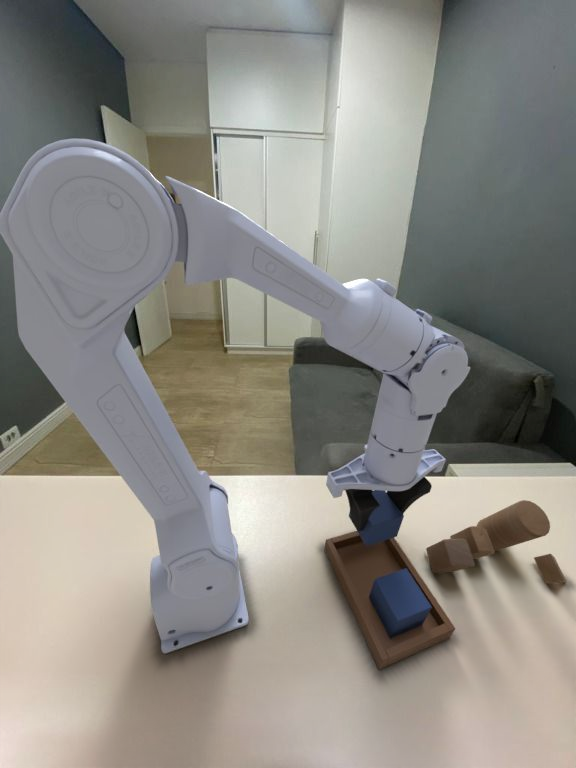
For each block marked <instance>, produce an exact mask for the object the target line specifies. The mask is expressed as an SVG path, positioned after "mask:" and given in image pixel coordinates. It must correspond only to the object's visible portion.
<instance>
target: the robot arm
mask: <svg viewBox="0 0 576 768" xmlns="http://www.w3.org/2000/svg"><path fill="white" fill-rule="evenodd" d="M164 178H165V179H166V181H167V183H168V184H169V186H170V189H171V190H172V193H173V194H174V195H175V196H177V198H178V200H179V202H180V203H176V202H175V201H174V199H173V197H172V196H171V194H170V193H169V191H168V190H167V188H165V186H164V185H163V184H162V182H160V181H159V180H158V179H157V178H155V176H154V175H153V174H152V173H151V172H150V171H149V170H148V169H147V168H146V167H145V166H144V165H143V164H141V163H140V162H139V161H138V160H137V159H135V157H133V156H131V155H129V154H128V153H127V152H125V151H123V150H121V149H119V148H117V147H115V146H113V145H111V144H108V143H106V142H102V141H98V140H93V139H88V138H73V137H72V138H66V139H60V140H57V141H54V142H51V143H48V144H47V145H45V146H43V147H41V148H40V149H38V150H37V151H35V153H34V154H33V155H31V157H30V158H29V159H28V160H27V161H26V163H25V164H24V166H23V168H22V169H21V171H20V173H19V175H18V177H17V179H16V181H15V183H14V185H13V187H12V188H11V190H10V193H9V195H8V197H7V199H6V200H5V202H4V205H3V207H2V208H1V211H0V235H1V237H2V239H3V240H4V242H5V244H6V246H7V247H8V249H9V251H10V252H11V256H12V264H13V265H12V266H13V279H14V293H15V294H14V295H15V307H16V309H15V311H16V322H17V323H16V324H17V333H18V337H19V339H20V341H21V343H22V345H23V346H24V348H25V350H26V351H27V353H28V354H29V355H30V358H32V360H33V361H34V362H35V363H36V365H37V366H38V368H39V369H40V370H41V371H42V374H44V375H45V377H46V378H47V380H49V382H50V384H51V385H52V386H53V387H54V389H55V391H56V392H57V393H58V394H59V396H60V397H61V398H62V400H63V401H64V402H65V404H66V405H67V407H69V409H70V410H71V411H72V413H73V414H74V415H75V417H76V419H77V420H78V421H79V422H80V423H81V425H82V426H83V428H84V429H85V430H86V432H87V433H88V435H90V437H91V438H92V440H93V441H94V442H95V444H96V446H98V448H99V449H100V450H101V452H102V453H103V454H104V456H105V457H106V458H107V459H108V461H109V462H110V463H111V465H112V466H113V468H114V469H115V470H116V472H117V474H119V476H120V477H121V478H122V480H123V481H124V482H125V484H126V485H127V486H128V488H129V489H130V491H131V492H132V493H133V494H134V496H135V498H137V500H138V501H139V502H140V504H141V505H142V507H143V508H144V509H145V510H146V512H147V513H148V515H149V516H150V517H151V518H152V520H153V522H154V527H155V534H156V541H157V546H158V552H159V555H156V556H154V557H153V558H151V561H150V568H149V569H150V570H149V571H150V572H149V573H150V574H149V594H150V595H149V597H150V605H151V606H150V607H151V612H152V617H153V620H154V623H155V626H156V629H157V633H158V635H159V639H160V641H161V642H160V649H161V652H162V653H163V654H168V653H171V652H174V651H177V650H179V649H182V648H185V647H188V646H191V645H193V644H194V645H195V644H197V643H201V642H203V641H205V640H208V639H211V638H214V637H216V636H220V635H222V634H225V633H228V632H231V631H234V630H237V629H239V628H242V627H245V626H247V625H248V624H249V621H250V618H249V613H248V608H247V602H246V601H247V600H246V597H245V592H244V587H243V581H242V578H241V577H242V576H241V569H240V563H239V562H240V561H239V546H238V542H237V539H236V536H235V535H234V533H233V532H232V526H231V517H230V511H229V495H228V492H227V490H226V489H225V488H224V487H223V485H221V484H219V483H217V482H216V481H214V480H213V479H212V478H211V477H210V476H209V473H208V472H207V471H206V470H199V469H198V468H197V465H196V463H195V462H194V459H193V458H192V456H191V454H190V452H189V450H188V449H187V447H186V445H185V443H184V441H183V439H182V437H181V436H180V434H179V431H178V430H177V428H176V426H175V424H174V422H173V420H172V419H171V417H170V415H169V413H168V411H167V409H166V407H165V406H164V404H163V402H162V400H161V398H160V396H159V394H158V392H157V390H156V389H155V386H154V385H153V383H152V381H151V379H150V377H149V375H148V374H147V372H146V370H145V367H144V366H143V364H142V363H141V360H140V359H139V356H138V355H137V353H136V351H135V349H134V347H133V345H132V343H131V342H130V340H129V338H128V336H127V334H126V332H125V327H126V325H127V323H128V321H129V319H130V317H131V314H132V313H133V311H134V309H135V306H137V305H138V304H139V303H140V302H142V301H143V300H144V299H145V298H146V297H147V296H149V295H150V294H151V293H152V292H153V291H155V289H156V288H157V287H158V286H159V285H160V284H161V283H162V282H163V281H164V280H165V279H166V278H167V276H168V275H169V274H170V272H171V271H172V269H173V267H174V265H175V263H176V262H177V263H181V262H182V263H183V269H184V271H183V272H184V285H185V286H190V285H191V286H192V285H198V284H199V285H200V284H204V283H210V282H214V281H220V280H227V279H234V280H238V281H240V282H241V283H243V284H245V285H247V286H250V287H251V288H254V289H255V290H257V291H259V292H262V293H263V294H265V295H267V296H269V297H271V298H273V299H275V300H277V301H279V302H281V303H282V304H285V305H287V306H289V307H290V308H293V309H295V310H297V311H299V312H301V313H303V314H305V315H307V316H309V317H311V318H313V319H315V320H317V321H319V323H320V328H321V332H322V336H323V339H324V341H325V343H326V344H327V345H329V346H330V347H332V348H334V349H335V350H338V351H339V352H341V353H344V354H345V355H347V356H349V357H351V358H353V359H354V360H355V359H356V360H357V361H359V362H361V363H363V364H365V365H367V366H369V367H370V368H373V369H375V370H376V371H379V372H380V373H382V378H381V383H380V387H379V391H378V396H377V400H376V404H375V410H374V412H373V413H374V414H373V418H372V422H371V427H370V431H369V436H368V439H367V440H368V441H367V444H364V448H363V451H364V453H362V454H361V455H358V457H355V458H354V459H353V460H352V461H349V462H348V463H346V464H345V465H343V466H342V467H339V468H338V469H335V470H333V471H328V472H327V477H326V484H325V485H326V487H327V489H328V491H329V493H330V494H331V496H332V498H333V499H336V498H337V499H338V498H340V497H341V498H342V496H343V492H344V491H345V493H346V496H347V501H348V505H349V512H350V514H351V519H350V521H351V520H352V521H351V523H352V522H353V523H352V524H353V526H354V525H355V526H354V528H355V527H356V528H355V530H356V529H357V530H358V531H362V530H364V528H365V527H366V525H367V522H368V519H369V517H370V515H371V513H372V512H373V511H374V510H375V509H376V508H377V507H378V506H380V504H379V503H378V502H377V500H376V499H375V497H374V496H373V494H372V491H373V490H381V491H385V492H386V493H387V494H388V495H389V497H390V498H391V499H392V501H393V502H394V503H395V505H396V506H397V507H398V509H399V510H400V511H401V513H402V514H403V515H404V514H405V512H406V511H407V510H409V508H410V507H411V505H413V504H414V503H415V502H416V501H417V500H419V499H421V497H422V498H423V496H426V495H427V494H429V493H431V490H432V488H433V487H432V483H431V482H430V481H429V479H427V478H426V476H427V475H428V474H429V473H430V472H433V473H440V472H442V471H443V469H444V466H445V464H446V461H447V459H446V458H445V457H444V456H443V455H442V454H440V453H439V452H438V451H437V450H436V449H435V448H432V449H426V446H427V443H428V441H429V438H430V434H431V432H432V429H433V426H434V423H435V421H436V417H437V414H438V413H441V412H442V411H443V409H444V408H446V407H447V405H448V402H449V399H450V398H451V395H452V394H453V392H454V391H455V390H457V389H458V388H459V387H460V386H461V385H462V383H463V382H464V381H465V379H466V378H467V376H468V374H469V373H470V370H471V366H468V365H469V357H468V353H467V351H466V350H465V349H466V346H465V344H464V343H463V341H462V340H461V339H459V338H458V337H456V336H453V335H452V334H449V333H447V332H445V331H444V330H441V329H439V328H437V327H435V326H433V325H432V324H431V322H432V321H433V316H432V315H431V314H429V313H427V312H426V311H424V310H422V309H419V308H417V309H415V310H414V309H413V310H412V308H410V307H408V306H407V305H406V304H404V303H403V302H402V301H400V300H399V299H397V298H396V297H394V296H395V295H396V294H397V292H398V289H397V287H396V286H394V285H393V284H391V283H390V282H389V281H386V280H384V279H381V278H376V279H375V280H374V281H372V280H370V279H368V278H359V279H354V280H351V281H347V282H344V283H341V282H339V281H338V280H337V279H335V278H334V277H333V276H331V275H330V274H328V273H327V272H326V271H324V270H322V269H321V268H320V267H318V266H317V265H316V264H315V263H314V262H312V261H310V260H309V259H307V258H306V257H305V256H303V255H302V254H300V253H299V252H298V251H296V250H294V249H293V248H291V247H290V246H289V245H287V244H286V243H284V242H283V241H282V240H280V239H279V238H278V237H276V236H275V235H273V234H272V233H271V232H269V231H268V230H266V229H265V228H264V227H262V226H261V225H259V224H258V223H257V222H256V221H253V220H252V219H251V218H250V217H248V216H247V215H245V214H244V213H242V212H241V211H240V210H238V209H236V208H235V207H232V206H231V205H229V204H227V203H225V202H223V201H221V200H218V199H217V198H215V197H213V196H211V195H209V194H207V193H205V192H203V191H202V190H199V189H197V188H195V187H193V186H191V185H188V184H186V183H184V182H182V181H180V180H177V179H175V178H173V177H170V176H168V175H165V176H164ZM357 530H356V531H357ZM239 621H241V622H239ZM176 643H177V644H176ZM175 644H176V645H175Z"/></svg>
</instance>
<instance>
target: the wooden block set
mask: <svg viewBox="0 0 576 768" xmlns="http://www.w3.org/2000/svg"><path fill="white" fill-rule="evenodd" d="M550 528H551V521H550V520H549V517H548V515H547V514H546V512H545V510H543V509H542V507H541V506H539V505H538V504H537V503H535V502H532V501H531V500H527V499H526V500H524V499H523V500H519V501H517V502H515V503H513V504H511V505H509V506H507V507H504V508H502V509H499V511H497V512H494V513H493V514H490V515H488V516H486V517H484V518H482V519H480V520H479V521H478V522H477V524H476V525H473V526H471V525H470V526H468V527H467V528H464V529H462V530H460V531H458V532H456V533H454V534H451V535H450V536H449V538H444V539H442V540H440V541H438V542H436V543H434V544H432V545H430V546H428V547H426V549H425V550H426V554H427V558H428V561H429V565H430V568H431V571H432V573H434V574H436V573H437V574H438V573H453V572H454V573H455V572H458V571H462V570H465V569H468V568H473V567H475V565H476V563H475V560H476V559H480V558H484V557H487V556H490V555H493V554H495V551H501V550H503V549H508V548H510V547H513V546H517V545H521V544H523V543H526V542H530V541H533V540H536V539H539V538H542V537H545V536H547V535H548V534H549V533H550V530H551V529H550ZM474 559H475V560H474ZM533 559H534V562H535V564H536V566H537V568H538V570H539V573H540V574H541V577H542V579H543V581H544V584H564V583H567V580H566V578H565V576H564V573H563V571H562V569H561V567H560V566H559V563H558V561H557V559H556V557H555V556H554V555H553V554H552V553H547V554H543V555H538V556H534V557H533Z"/></svg>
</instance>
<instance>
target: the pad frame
mask: <svg viewBox="0 0 576 768" xmlns="http://www.w3.org/2000/svg"><path fill="white" fill-rule="evenodd" d="M323 548H324V551H325V554H326V555H327V558H328V560H329V563H330V565H331V567H332V569H333V571H334V574H335V575H336V578H337V580H338V582H339V584H340V587H341V589H342V591H343V593H344V596H345V598H346V600H347V602H348V604H349V606H350V609H351V611H352V614H353V616H354V618H355V620H356V622H357V624H358V626H359V629H360V631H361V633H362V635H363V637H364V640H365V642H366V644H367V647H368V649H369V651H370V653H371V655H372V657H373V659H374V662H375V664H376V666H377V669H378V670H381V669H383V668H385V667H388V666H390V665H392V664H394V663H397V662H398V661H399V662H400V661H401V660H403V659H405V658H408V657H410V656H412V655H414V654H417V653H419V652H422V651H424V650H425V649H427V648H429V647H432V646H434V645H436V644H438V643H441V642H443V641H445V640H447V639H450V638H451V636H453V633H454V632H455V630H456V626H455V625H454V624H453V623H452V621H451V619H450V618H449V616H448V615H447V613H446V612H445V611H444V609H443V608H442V606H441V605H440V603H439V602H438V600H437V599H436V598H435V596H434V595H433V593H432V591H431V590H430V589H429V587H428V586H427V584H426V583H425V581H424V579H423V578H422V576H421V575H420V574H419V573H418V571H417V569H416V568H415V566H414V565H413V564H412V562H411V561H410V559H409V557H408V555H406V553H405V552H404V550H403V548H402V547H401V546H400V544H399V543H398V541H397V540H396V537H394V538H391V539H388V540H385V541H381V542H378V543H375V544H372V545H369V546H366V545H365V543H364V542H363V540H362V538H361V537H360V535H359V533H358V531H357V530H354V531H350V532H348V533H344V534H341V535H337V536H335V537H334V536H333V537H330V538H326V539H325V543H324V547H323ZM405 568H407V570H408V571H409V573H410V574H411V576H412V578H413V579H414V581H415V582H416V584H417V585H418V587H419V588H420V590H421V591H422V593H423V594H424V596H425V597H426V599H427V600H428V602H429V604H430V605H431V607H432V608H431V609H430V611H429V613H428V615H427V617H426V619H425V621H424V623H423V625H421V626H418V627H416V628H414V629H411V630H409V631H407V632H404V633H402V634H399V635H397V636H395V637H392V638H390V637H389V635H388V633H387V631H386V629H385V627H384V626H383V624H382V622H381V620H380V618H379V616H378V614H377V612H376V610H375V608H374V606H373V604H372V602H371V600H370V598H369V595H370V592H371V589H372V586H373V583H374V580H375V579H377V578H379V577H382V576H385V575H388V574H391V573H394V572H397V571H399V570H402V569H405Z"/></svg>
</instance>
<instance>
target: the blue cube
mask: <svg viewBox="0 0 576 768" xmlns="http://www.w3.org/2000/svg"><path fill="white" fill-rule="evenodd" d="M369 598H370V600H371V602H372V604H373V606H374V608H375V610H376V612H377V614H378V616H379V618H380V620H381V622H382V624H383V626H384V627H385V629H386V631H387V633H388V635H389V637H390V638H392V637H395V636H397V635H399V634H402V633H404V632H407V631H409V630H411V629H414V628H416V627H418V626H421V625H423V623H424V621H425V619H426V617H427V615H428V613H429V611H430V609H431V608H432V607H431V605H430V604H429V602H428V600H427V599H426V597H425V596H424V594H423V593H422V591H421V590H420V588H419V587H418V585H417V584H416V582H415V581H414V579H413V578H412V576H411V574H410V573H409V571H408V570H407V568H405V569H402V570H399V571H397V572H394V573H391V574H388V575H385V576H382V577H379V578H377V579H375V580H374V583H373V586H372V589H371V592H370V595H369Z"/></svg>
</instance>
